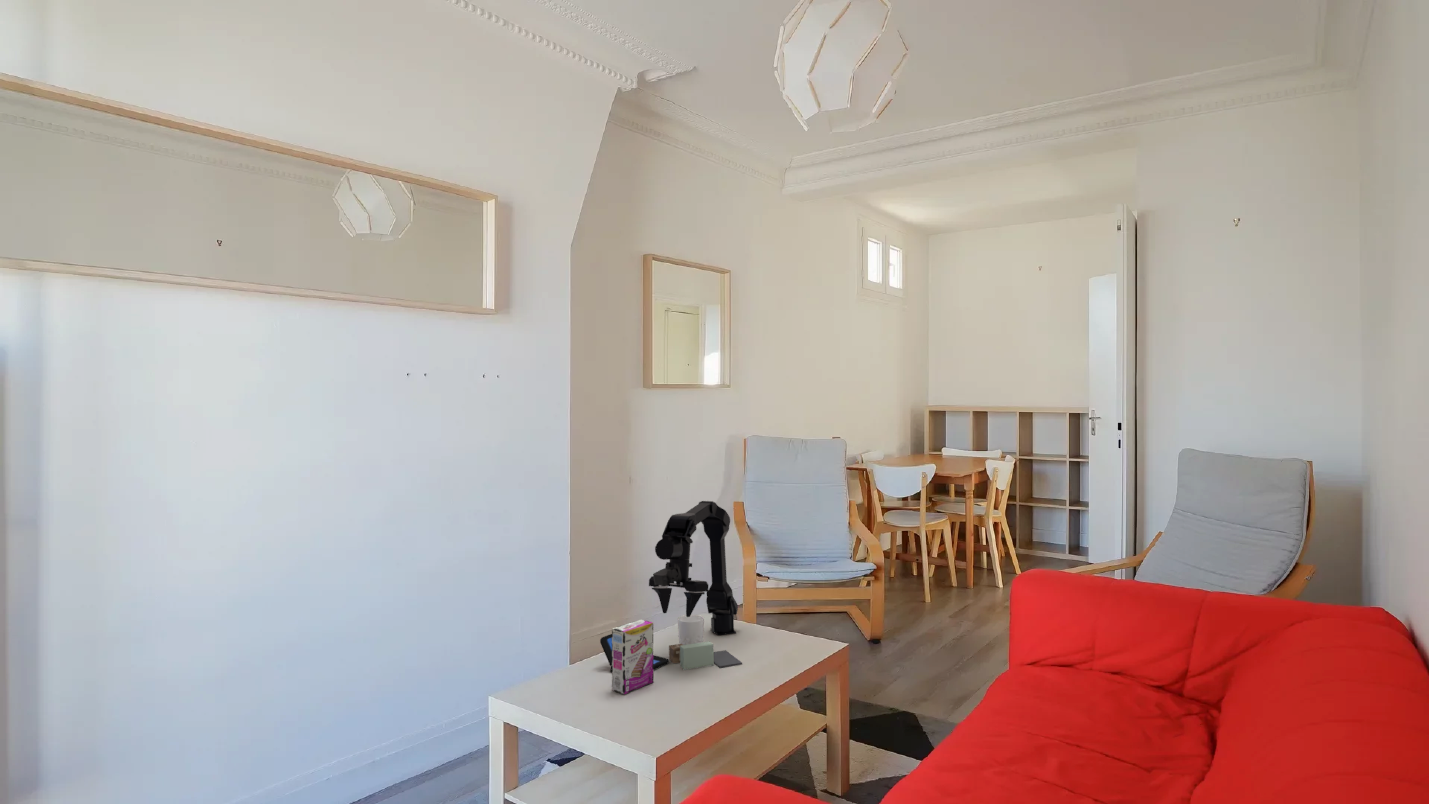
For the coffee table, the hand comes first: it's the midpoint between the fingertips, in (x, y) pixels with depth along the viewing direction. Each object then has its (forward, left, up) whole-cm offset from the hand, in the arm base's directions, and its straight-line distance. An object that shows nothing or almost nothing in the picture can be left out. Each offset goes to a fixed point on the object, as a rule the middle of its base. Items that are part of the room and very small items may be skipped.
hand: (676, 615), depth 217 cm
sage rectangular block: (-5, +2, -15) cm, 16 cm away
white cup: (-8, -10, -15) cm, 19 cm away
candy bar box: (+16, +10, -15) cm, 24 cm away
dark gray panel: (-14, +1, -14) cm, 20 cm away
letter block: (-2, -4, -14) cm, 15 cm away
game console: (+11, -5, -15) cm, 19 cm away
